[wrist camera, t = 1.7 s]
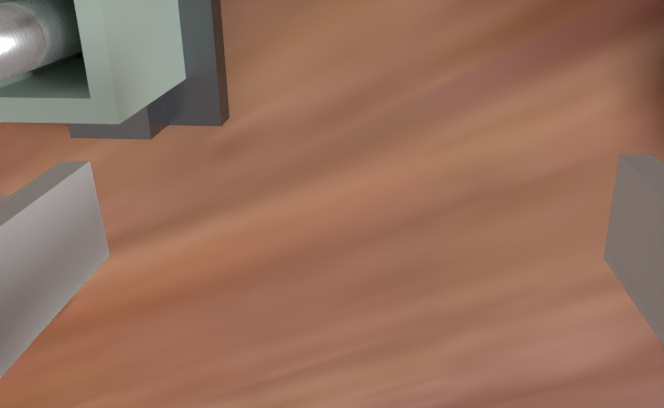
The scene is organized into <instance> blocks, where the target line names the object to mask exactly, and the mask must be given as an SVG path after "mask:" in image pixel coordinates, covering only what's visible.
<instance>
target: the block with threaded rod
mask: <svg viewBox="0 0 664 408" xmlns="http://www.w3.org/2000/svg"><path fill="white" fill-rule="evenodd" d="M178 8H179V18H180V27H181V37H182V46H183V55H184V65H185V74H186V79H185V80H183V81H182V82H181V83H179V84H178V85H176V86H175V87H173V88H172V89H170V90H169V91H167V92H166V93H164V94H163V95H161V96H160V97H159V98H157V99H156V100H154V101H153V102H151V103H150V104H148V105H147V106H145V107H144V108H142V109H141V110H140V111H138V112H137V113H135V114H134V115H132V116H131V117H129V118H128V119H126V120H125V121H123V122H122V123H121V124H80V123H68V124H69V130H70V135H71V138H112V139H152V138H153V137H155V136H156V135H157V134H158V133H159V132H160V131H162V130H163V129H164V128H165V127H166V126H168V125H190V126H222V125H223V124H224V123H225V122H226V121H227V120H228V118H229V108H228V95H227V83H226V70H225V57H224V45H223V32H222V19H221V7H220V0H178ZM74 54H77V58H84V57H83V51H82V45H81V40H80V34H79V28H78V22H77V16H76V11H75V5H74V0H16V1H10V2H4V3H0V82H1V81H4V80H7V79H9V78H12V77H15V76H17V75H20V74H23V73H26V72H28V71H31V70H34V69H36V68H39V67H42V66H45V65H47V64H50V63H53V62H55V61H58V60H61V59H63V58H66V57H69V56H72V55H74Z"/></svg>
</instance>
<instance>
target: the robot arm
mask: <svg viewBox="0 0 664 408" xmlns="http://www.w3.org/2000/svg"><path fill="white" fill-rule="evenodd" d="M109 256H110V255H109V250H108V246H107V241H106V236H105V231H104V227H103V222H102V217H101V212H100V208H99V203H98V198H97V193H96V189H95V184H94V179H93V174H92V170H91V165H90V161H61V162H60V163H58V164H57V165H55V166H54V167H52V168H51V169H49V170H48V171H46V172H45V173H43V174H42V175H40V176H39V177H37V178H36V179H34V180H33V181H31V182H30V183H28V184H27V185H25V186H24V187H22V188H21V189H19V190H18V191H16V192H15V193H13V194H12V195H10V196H9V197H7V198H6V199H4V200H3V201H1V202H0V378H1V377H2V376H3V374H4V373H5V372H6V371H7V370H8V369H9V368H10V367H11V365H12V364H13V363H14V362H15V361H16V360H17V359H18V358H19V356H20V355H21V354H22V353H23V352H24V351H25V350H26V349H27V348H28V346H29V345H30V344H31V343H32V342H33V341H34V340H35V339H36V337H37V336H38V335H39V334H40V333H41V332H42V331H43V330H44V328H45V327H46V326H47V325H48V324H49V323H50V322H51V321H52V320H53V318H54V317H55V316H56V315H57V314H58V313H59V312H60V311H61V309H62V308H63V307H64V306H65V305H66V304H67V303H68V302H69V300H70V299H71V298H72V297H73V296H74V295H75V294H76V293H77V291H78V290H79V289H80V288H81V287H82V286H83V285H84V284H85V283H86V281H87V280H88V279H89V278H90V277H91V276H92V275H93V274H94V272H95V271H96V270H97V269H98V268H99V267H100V266H101V265H102V263H103V262H104V261H105V260H106V259H107V258H108V257H109ZM604 259H605V261H606V262H607V263H608V265H609V266H610V268H611V269H612V271H613V272H614V274H615V275H616V277H617V278H618V280H619V281H620V283H621V284H622V286H623V287H624V289H625V290H626V292H627V293H628V294H629V296H630V297H631V299H632V300H633V302H634V303H635V305H636V306H637V308H638V309H639V311H640V312H641V314H642V315H643V317H644V318H645V320H646V321H647V323H648V324H649V325H650V327H651V328H652V330H653V331H654V333H655V334H656V336H657V337H658V339H659V340H660V342H661V343H662V345H663V346H664V163H663V162H662V161H660V160H659V159H658V158H657V157H655V156H654V155H619V160H618V166H617V173H616V179H615V186H614V192H613V199H612V206H611V212H610V219H609V225H608V232H607V238H606V245H605V252H604Z"/></svg>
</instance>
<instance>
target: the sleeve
mask: <svg viewBox="0 0 664 408" xmlns="http://www.w3.org/2000/svg"><path fill="white" fill-rule="evenodd" d="M10 1H16V0H0V3H4V2H10ZM74 5H75V11H76V16H77V22H78V28H79V34H80V40H81V45H82V51H83V57H84V58H77V54H74V55H72V56H69V57H66V58H63V59H61V60H58V61H55V62H53V63H50V64H47V65H45V66H42V67H39V68H36V69H34V70H31V71H28V72H26V73H23V74H20V75H17V76H15V77H12V78H9V79H7V80H4V81H1V82H0V122H27V123H80V124H121V123H122V122H123V121H125V120H126V119H128V118H129V117H131V116H132V115H134V114H135V113H137V112H138V111H140V110H141V109H142V108H144V107H145V106H147V105H148V104H150V103H151V102H153V101H154V100H156V99H157V98H159V97H160V96H161V95H163V94H164V93H166V92H167V91H169V90H170V89H172V88H173V87H175V86H176V85H178V84H179V83H181V82H182V81H183V80H185V79H186V74H185V65H184V55H183V46H182V37H181V27H180V18H179V8H178V0H74Z"/></svg>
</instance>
